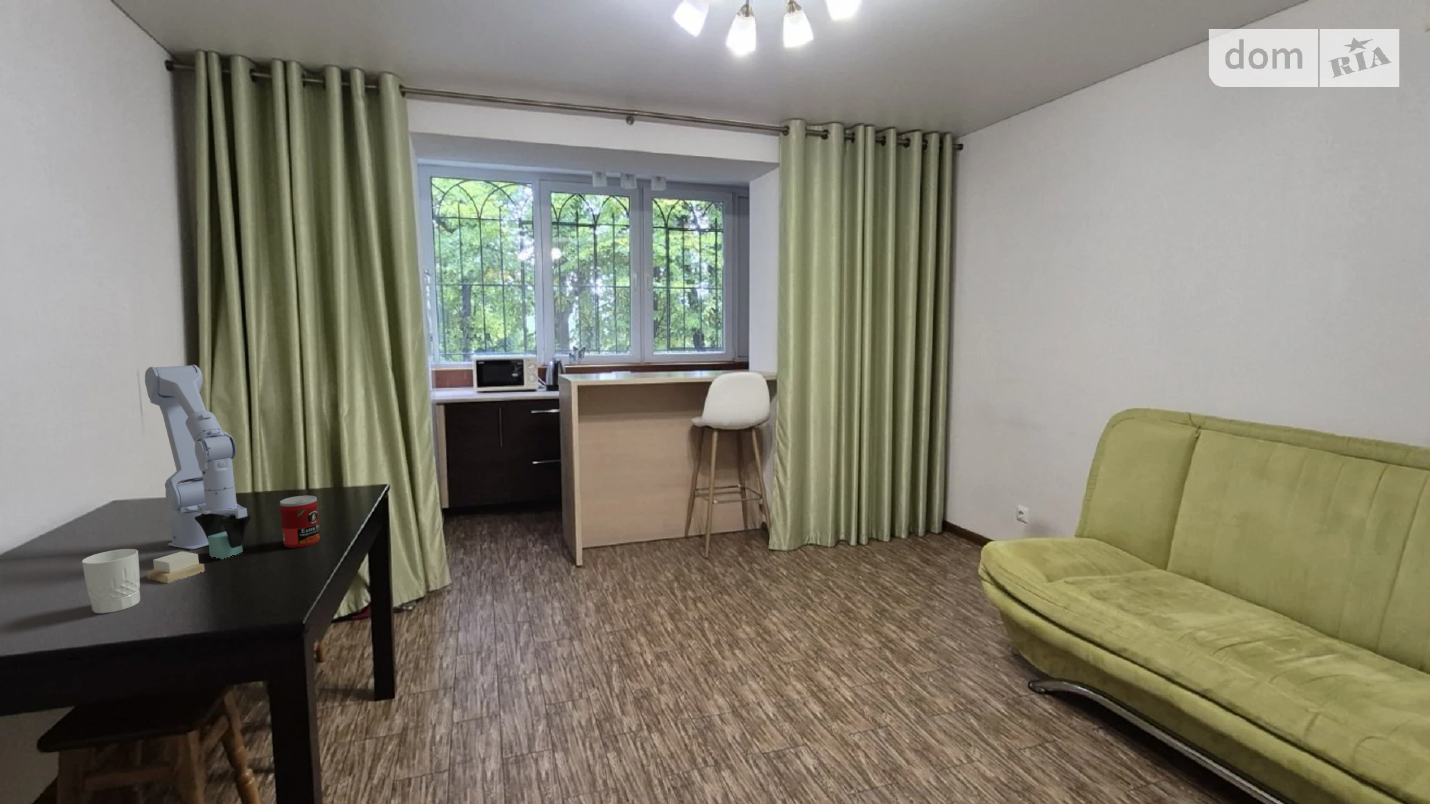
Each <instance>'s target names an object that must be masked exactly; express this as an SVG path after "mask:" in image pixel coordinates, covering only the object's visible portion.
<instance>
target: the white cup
mask: <svg viewBox="0 0 1430 804" xmlns="http://www.w3.org/2000/svg"><path fill="white" fill-rule="evenodd" d="M139 559H140V558H139V550H137V549H134V548H121V549H114V550H108V551H103V552H99V553H95V554H92V555H90V556H87V557H85V558H83V559H82V560H81V565H82V569H83V575H84V580H85V581H84V582H85V586H86V589H87V594H88V597H89V600H90V606H91V611H92V612H93V613H95V614H107V613H114V612H120V611H123V610H126V609H129V608H131V607H134V606H136V605H138V604H139V602H140V601H141V591H140V586H141V583H140V582H141V581H140V573H141V572H140V563H139V561H140V560H139Z"/></svg>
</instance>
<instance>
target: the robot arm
mask: <svg viewBox="0 0 1430 804" xmlns="http://www.w3.org/2000/svg"><path fill="white" fill-rule="evenodd" d="M203 379H204V378H203V373H202V370H201V369H200V367H198V366H197V365H196V364H190V365H178V366H177V365H174V366H171V365H170V366H156V367H155V366H149V367H148V368H146V370H145V372H144V383H145V388H146V392H147V396H148V398H149V402H150V404H153V405H156V406H159V408H160V411H161V414H162V417H163V422H164V425H165V429H166V433H167V438H168V441H169V445H170V448H171V454H172V457H173V462H174V465H175V469H176V471H175V472H174V473H173V474H172V475H170V476H169V477H168V478H167V479H166V481H165V483H164V488H165V500H166V504H167V506H168V508H169V509H170V510H172V511H173V512H172V513H171V515H170V518H169V523H170V524H169V525H170V532H171V541H172V542H169V543H168V546H170V547H171V546H172V547H175V548H176V547H177V548H181V549H187V550H191V551H193V550H196V549H199V548H203V547H206V546H209V543H208V536H211V535H215V534H218V533H222V526H223V528H224V531H226V533H227V536H228V541H229V544H230V547H231V548H235V547H238V546H242V547H243V543H244V542H243V541H244V536H245V532H246V528H247V526H248V525H249V524H248V523H249V522H250V521H251V519H252V516H251V515H250V514H248V510H247V509H248V508H246V507H243V506H242V505H240V504H239V503H238V501H237V494H236V485H235V476H234V466H233V465H234V464H233V459H235V458H236V454H237V447H236V443H235V440H234V437H233V436H232V434H229V433H228V432H227V431H223V428H222V427H221V425H220V423H219V421H218V419H217V417H216V415H215V414H214V413H213V412H212V411H207V410H206V409H207V408H206V407H205V403H204V400H203V399H202V395H201V393H200V392H201V389H202V385H203V383H204V382H203V381H204V380H203ZM224 516H227V517H226V518H224Z"/></svg>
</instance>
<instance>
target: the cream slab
mask: <svg viewBox="0 0 1430 804" xmlns="http://www.w3.org/2000/svg"><path fill="white" fill-rule="evenodd" d="M152 561H153V569H154V570H158V571H163V572H168V573H171V572H175V571H178V570H181V569H184V568H187V567H190V566H194V565H197V564H199V563H200V562H199V554H198V553H193V552H189V551H183V550H181V551H178V552H175V553H172V554H169V555H165V556H161V557H158V558H155V559H153V560H152Z"/></svg>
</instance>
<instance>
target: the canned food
mask: <svg viewBox="0 0 1430 804" xmlns="http://www.w3.org/2000/svg"><path fill="white" fill-rule="evenodd" d="M318 507H319V505H318V499H317V496H315V495H298V496H291V497H287V498H283V499H282V500H280V501H279V512H280V513H279V514H280V523H281V531H282V532H281V533H282V534H281V535H282V541H283V542H282V543H283V545H284V547H285V548H290V549H296V548H297V547H299V548H304V546H306V547H309V545H310V546H313V545H315V544H317V543H319V542H320V539H321V529H320V519H319V508H318Z"/></svg>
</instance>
